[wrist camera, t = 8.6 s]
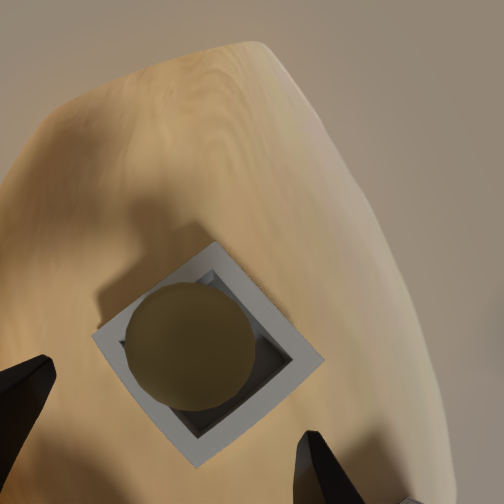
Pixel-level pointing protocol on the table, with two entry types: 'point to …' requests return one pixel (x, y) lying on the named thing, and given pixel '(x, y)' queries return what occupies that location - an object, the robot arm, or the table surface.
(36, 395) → the robot arm
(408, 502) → the medicine box
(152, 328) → the cork
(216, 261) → the socket plate
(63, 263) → the table surface
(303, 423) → the table surface
